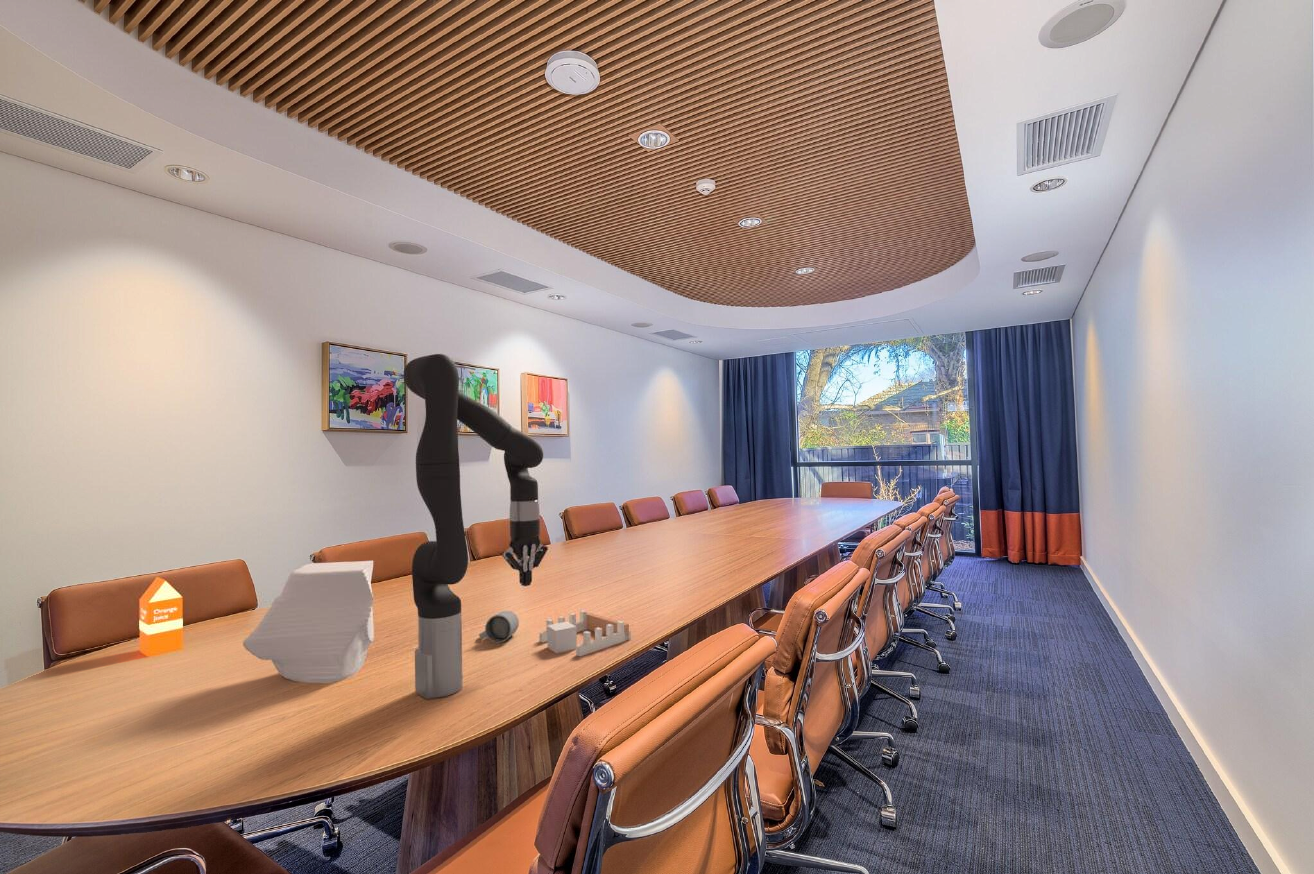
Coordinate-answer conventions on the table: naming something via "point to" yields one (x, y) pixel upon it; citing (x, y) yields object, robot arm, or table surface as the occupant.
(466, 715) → the table surface
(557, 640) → the white cube
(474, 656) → the table surface
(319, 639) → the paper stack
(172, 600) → the orange juice
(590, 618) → the notched wall frame
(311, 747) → the table surface
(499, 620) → the ceramic mug
